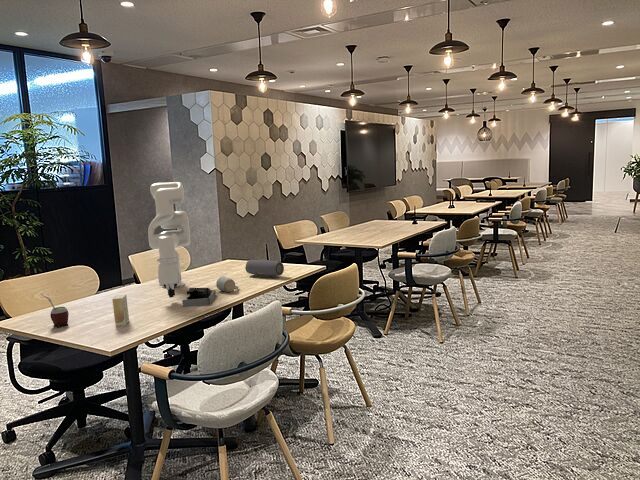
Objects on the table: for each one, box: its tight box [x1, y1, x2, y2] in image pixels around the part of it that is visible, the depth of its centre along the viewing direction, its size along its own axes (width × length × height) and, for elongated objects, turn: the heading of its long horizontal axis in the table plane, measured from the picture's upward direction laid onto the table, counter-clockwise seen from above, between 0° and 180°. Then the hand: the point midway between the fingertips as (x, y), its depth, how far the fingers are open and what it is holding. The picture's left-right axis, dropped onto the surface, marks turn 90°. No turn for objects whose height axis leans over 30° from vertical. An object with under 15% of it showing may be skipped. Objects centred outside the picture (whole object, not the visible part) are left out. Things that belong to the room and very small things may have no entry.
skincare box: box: [112, 294, 130, 327], centre depth 220 cm, size 6×4×12 cm
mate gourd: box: [43, 295, 70, 329], centre depth 222 cm, size 8×8×15 cm
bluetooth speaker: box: [244, 259, 285, 278], centre depth 303 cm, size 23×9×10 cm, turn 58°
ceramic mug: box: [216, 275, 239, 293], centre depth 272 cm, size 11×8×8 cm
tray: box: [181, 289, 217, 307], centre depth 254 cm, size 18×13×3 cm
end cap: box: [185, 287, 211, 300], centre depth 253 cm, size 10×7×7 cm
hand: (171, 296), depth 254 cm, fingers closed
